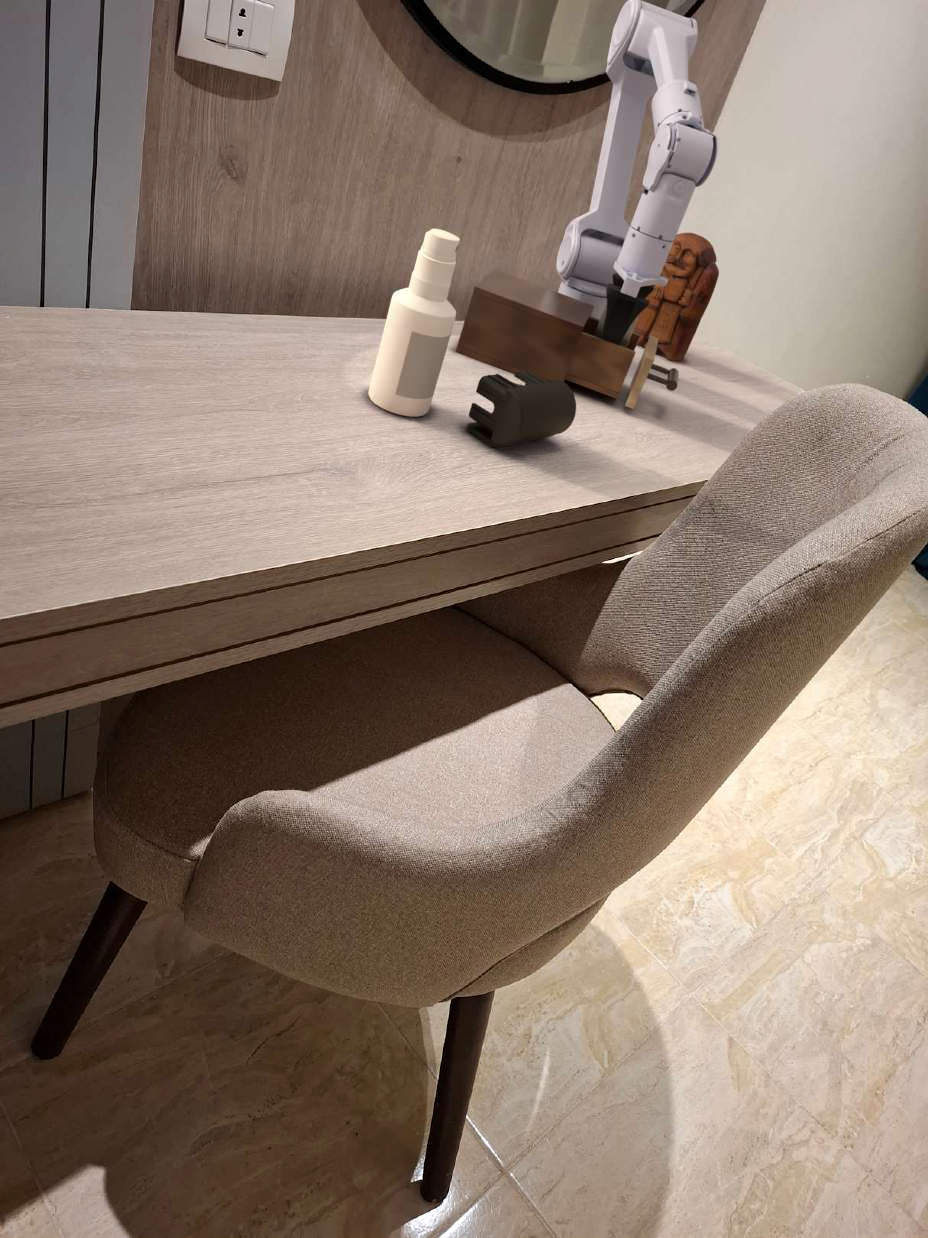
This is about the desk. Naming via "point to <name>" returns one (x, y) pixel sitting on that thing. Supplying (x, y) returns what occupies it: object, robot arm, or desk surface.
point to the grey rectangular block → (601, 324)
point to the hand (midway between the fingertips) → (611, 339)
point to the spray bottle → (417, 331)
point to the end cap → (521, 409)
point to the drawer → (615, 365)
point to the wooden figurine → (679, 296)
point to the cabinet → (523, 326)
